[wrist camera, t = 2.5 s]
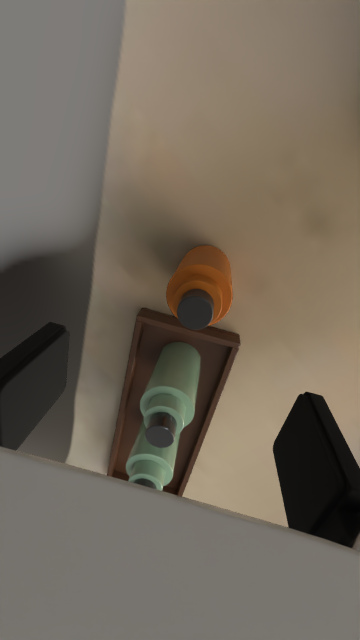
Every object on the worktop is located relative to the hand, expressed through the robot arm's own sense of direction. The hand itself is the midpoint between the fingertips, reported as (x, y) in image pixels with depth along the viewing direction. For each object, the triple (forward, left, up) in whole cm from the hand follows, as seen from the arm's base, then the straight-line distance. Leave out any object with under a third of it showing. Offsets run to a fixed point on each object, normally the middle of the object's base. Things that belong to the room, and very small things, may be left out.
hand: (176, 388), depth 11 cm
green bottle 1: (+9, 0, -16) cm, 19 cm away
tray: (+17, 0, -17) cm, 24 cm away
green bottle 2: (+17, 0, -16) cm, 24 cm away
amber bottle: (-1, 0, -17) cm, 17 cm away
